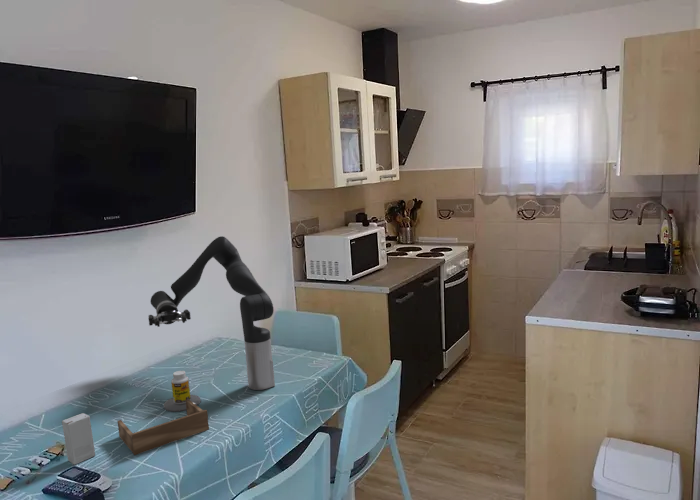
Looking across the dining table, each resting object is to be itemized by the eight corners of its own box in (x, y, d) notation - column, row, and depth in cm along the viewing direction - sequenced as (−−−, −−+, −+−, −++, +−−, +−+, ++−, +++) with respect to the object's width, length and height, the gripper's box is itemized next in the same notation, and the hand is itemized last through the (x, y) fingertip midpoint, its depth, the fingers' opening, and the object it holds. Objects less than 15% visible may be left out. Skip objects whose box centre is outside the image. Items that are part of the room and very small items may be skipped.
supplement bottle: (173, 406, 184) (170, 376, 183) (173, 400, 190) (170, 371, 188) (191, 403, 186) (187, 374, 184) (190, 397, 191) (187, 368, 190)
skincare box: (88, 451, 158) (83, 411, 157) (96, 456, 155) (90, 415, 154) (66, 461, 154) (60, 419, 152) (73, 466, 151) (68, 424, 149)
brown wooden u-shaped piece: (119, 436, 167) (116, 417, 166) (190, 413, 180) (188, 396, 179) (134, 455, 155) (132, 435, 154) (209, 429, 168) (207, 410, 167)
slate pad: (201, 394, 195) (201, 392, 195) (199, 408, 183) (199, 406, 183) (165, 399, 192) (165, 397, 192) (161, 414, 181) (161, 411, 181)
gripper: (187, 318, 212) (193, 329, 197) (148, 324, 207) (150, 335, 192) (185, 299, 211) (191, 308, 196) (146, 305, 206) (148, 314, 191)
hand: (171, 321), depth 194 cm, fingers open, 8 cm apart
